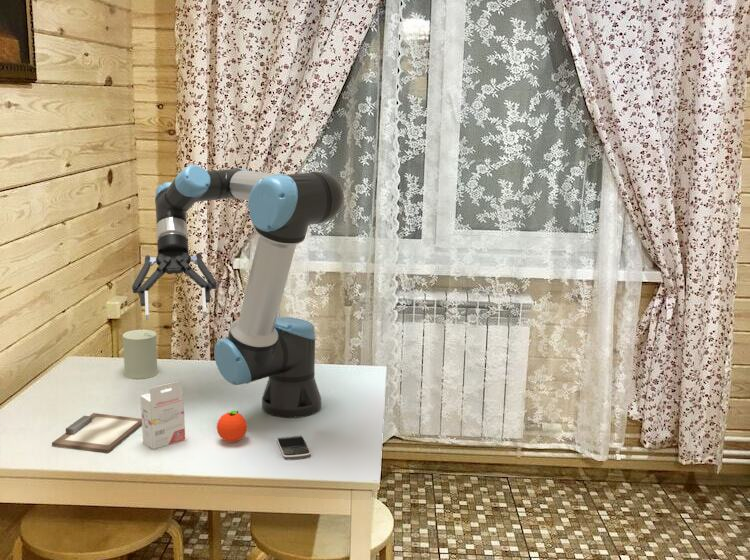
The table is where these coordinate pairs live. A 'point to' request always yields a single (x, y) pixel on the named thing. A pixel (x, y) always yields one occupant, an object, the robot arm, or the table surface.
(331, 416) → the table surface
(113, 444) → the clipboard
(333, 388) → the table surface
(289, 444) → the cell phone
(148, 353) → the can
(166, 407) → the ink cartridge box
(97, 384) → the table surface
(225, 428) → the clementine
